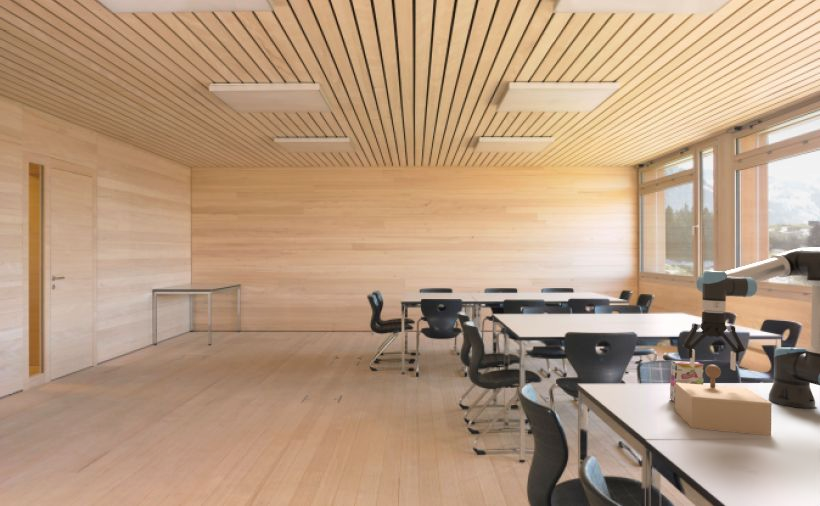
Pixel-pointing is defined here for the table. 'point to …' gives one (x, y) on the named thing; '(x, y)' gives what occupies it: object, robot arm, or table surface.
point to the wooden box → (723, 415)
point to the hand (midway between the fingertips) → (712, 368)
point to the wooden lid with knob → (720, 390)
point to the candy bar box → (685, 375)
